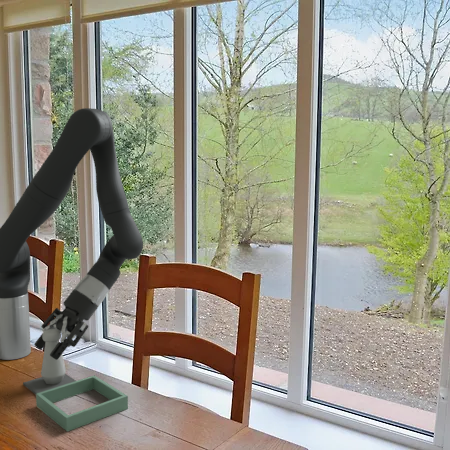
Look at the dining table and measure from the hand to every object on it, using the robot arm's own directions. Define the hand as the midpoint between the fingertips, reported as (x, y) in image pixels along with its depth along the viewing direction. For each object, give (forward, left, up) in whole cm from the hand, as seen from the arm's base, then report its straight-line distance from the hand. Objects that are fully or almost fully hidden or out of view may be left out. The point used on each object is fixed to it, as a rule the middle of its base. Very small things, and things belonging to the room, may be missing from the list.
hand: (45, 352), depth 132 cm
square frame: (+15, +1, -9) cm, 17 cm away
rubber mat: (0, +1, -9) cm, 9 cm away
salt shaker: (-1, +2, -8) cm, 9 cm away
